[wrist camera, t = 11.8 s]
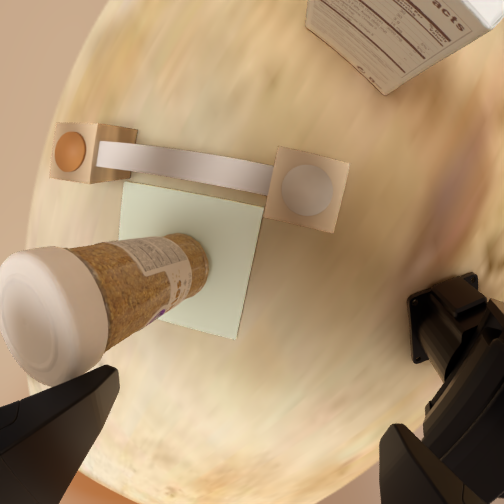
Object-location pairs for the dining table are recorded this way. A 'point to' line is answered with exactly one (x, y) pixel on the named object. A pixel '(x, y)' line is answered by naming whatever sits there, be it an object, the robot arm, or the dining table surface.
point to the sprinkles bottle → (91, 299)
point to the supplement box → (400, 33)
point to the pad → (212, 241)
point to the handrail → (206, 171)
